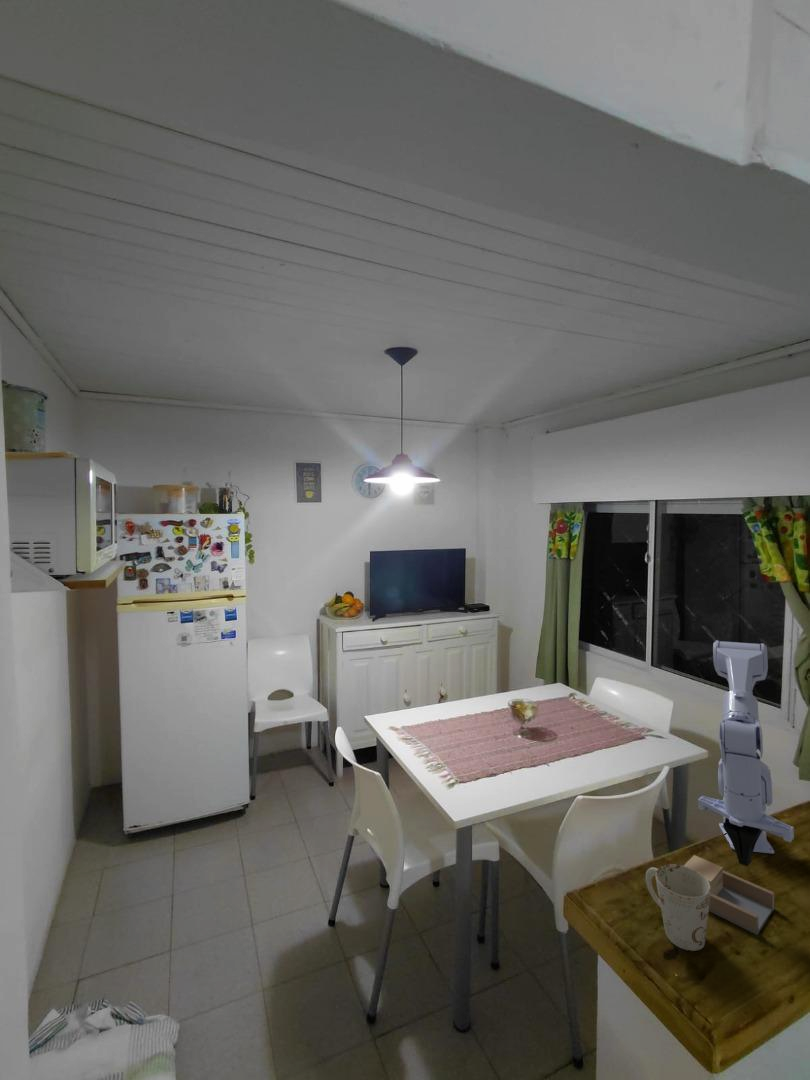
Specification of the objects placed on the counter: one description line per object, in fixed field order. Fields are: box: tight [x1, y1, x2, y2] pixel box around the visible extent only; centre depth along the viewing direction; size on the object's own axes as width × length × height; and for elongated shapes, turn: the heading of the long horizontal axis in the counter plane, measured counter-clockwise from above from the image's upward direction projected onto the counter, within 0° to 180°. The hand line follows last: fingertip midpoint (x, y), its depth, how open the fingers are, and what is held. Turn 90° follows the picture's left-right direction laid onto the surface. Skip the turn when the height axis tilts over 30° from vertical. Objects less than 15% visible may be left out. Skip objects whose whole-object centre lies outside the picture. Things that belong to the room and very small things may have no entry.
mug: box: [645, 863, 711, 952], centre depth 91 cm, size 8×13×10 cm, turn 22°
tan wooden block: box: [683, 854, 724, 896], centre depth 99 cm, size 5×6×4 cm
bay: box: [690, 856, 775, 936], centre depth 97 cm, size 14×9×3 cm, turn 39°
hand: (745, 862), depth 93 cm, fingers closed
